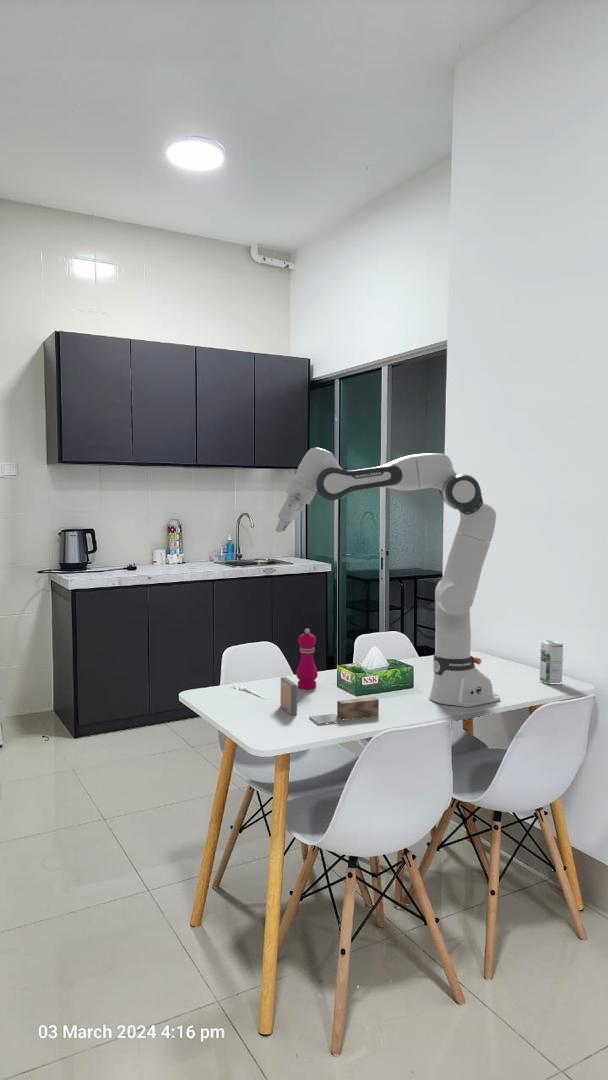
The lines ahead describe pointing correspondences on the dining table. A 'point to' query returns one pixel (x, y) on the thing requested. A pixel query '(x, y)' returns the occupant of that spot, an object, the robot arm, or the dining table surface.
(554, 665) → the syrup box
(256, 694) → the fork
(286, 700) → the tile
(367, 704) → the wood block on plate
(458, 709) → the dining table surface
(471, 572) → the robot arm
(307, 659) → the pepper mill
